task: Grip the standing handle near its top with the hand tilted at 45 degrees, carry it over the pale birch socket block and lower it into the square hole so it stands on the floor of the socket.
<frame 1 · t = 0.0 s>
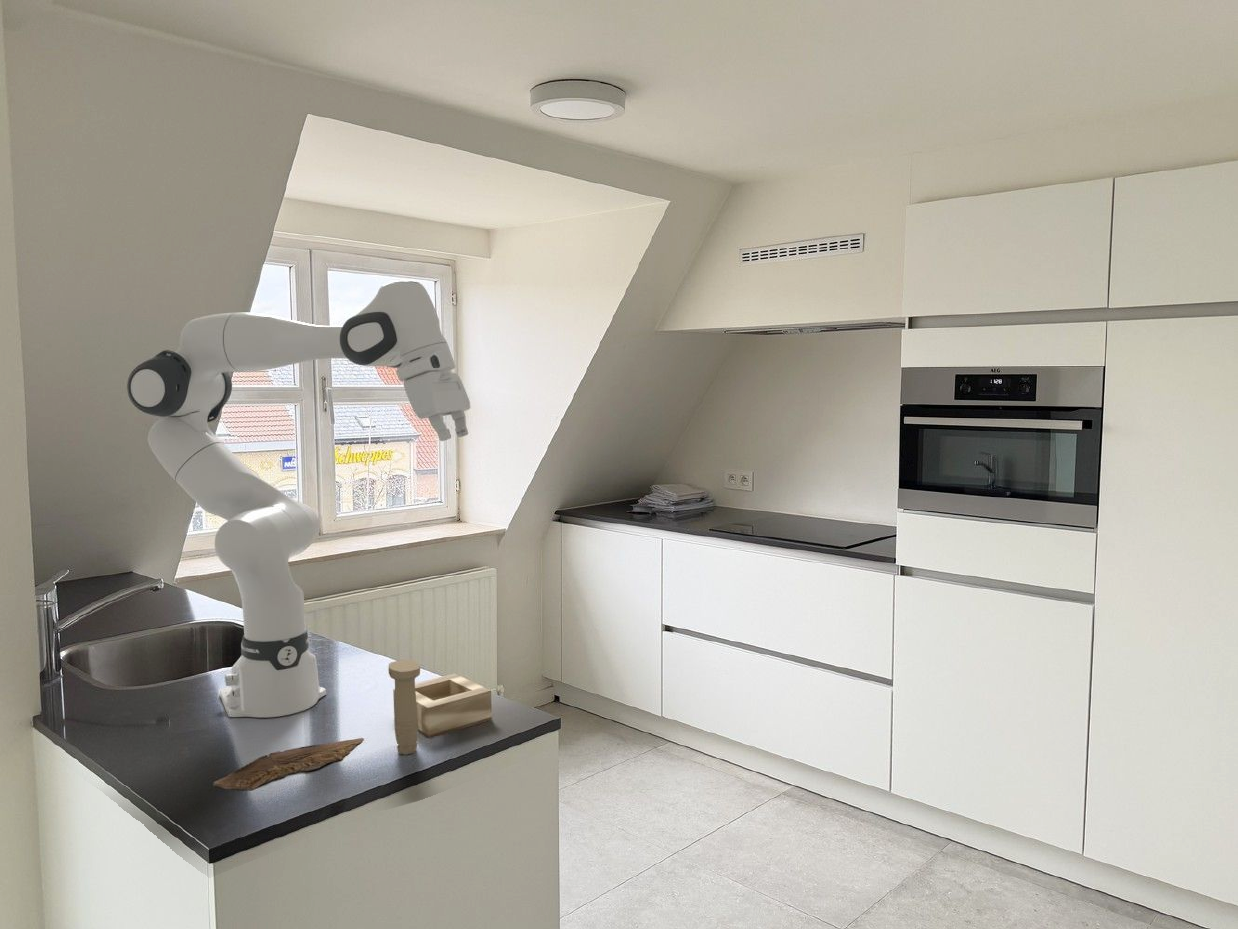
hand: (455, 438, 168), 52 cm above the worktop, tool tilted 20°, fingers open, 8 cm apart
socket block: (442, 719, 171), on the worktop
handle: (407, 753, 157), on the worktop
wooden fragment: (295, 765, 153), on the worktop
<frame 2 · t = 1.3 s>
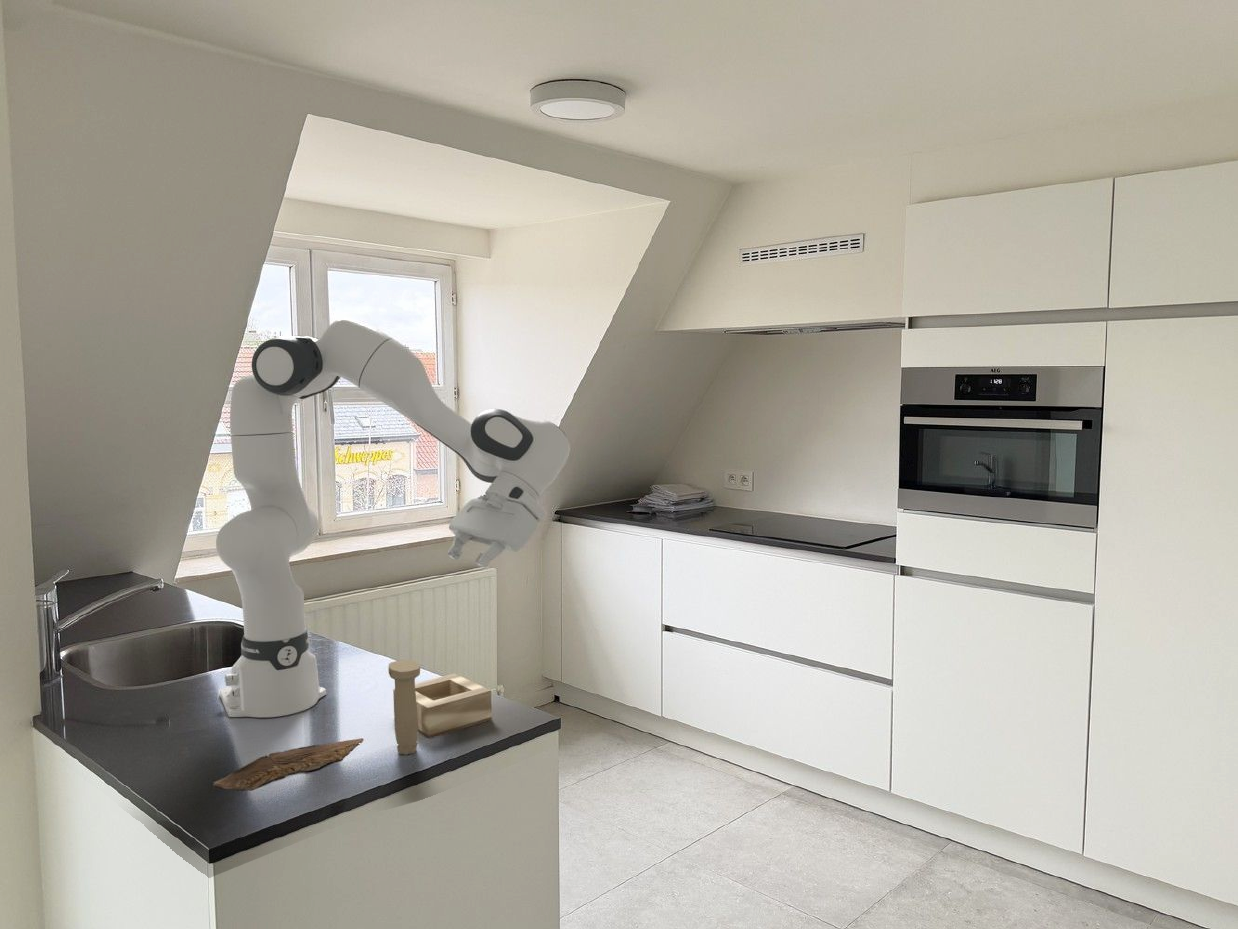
hand: (465, 561, 161), 31 cm above the worktop, tool tilted 45°, fingers open, 8 cm apart
nothing on the worktop moved.
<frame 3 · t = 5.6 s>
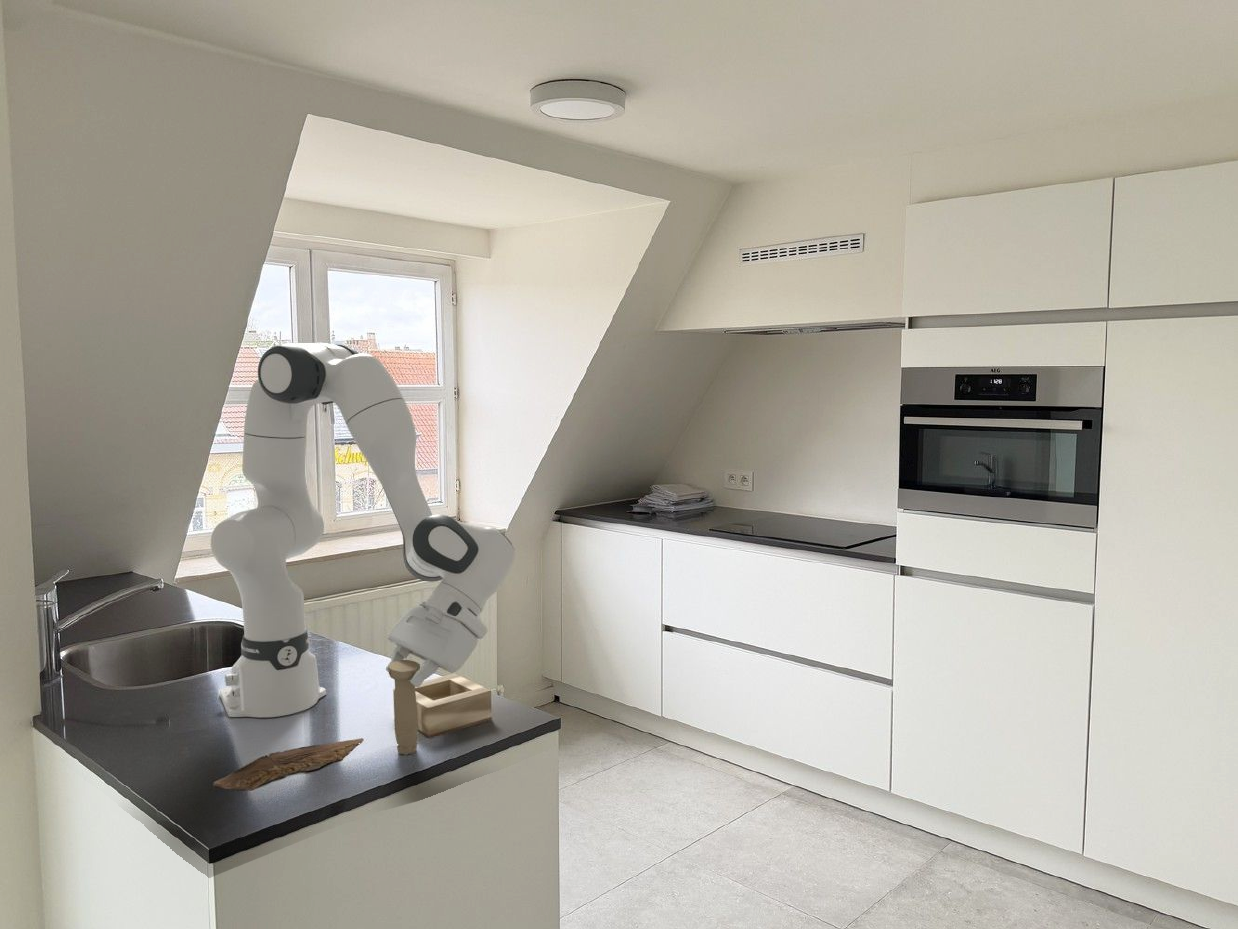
hand: (401, 678, 155), 13 cm above the worktop, tool tilted 45°, fingers closed on handle, 6 cm apart
handle: (407, 753, 157), on the worktop, touching gripper
everything else where it was.
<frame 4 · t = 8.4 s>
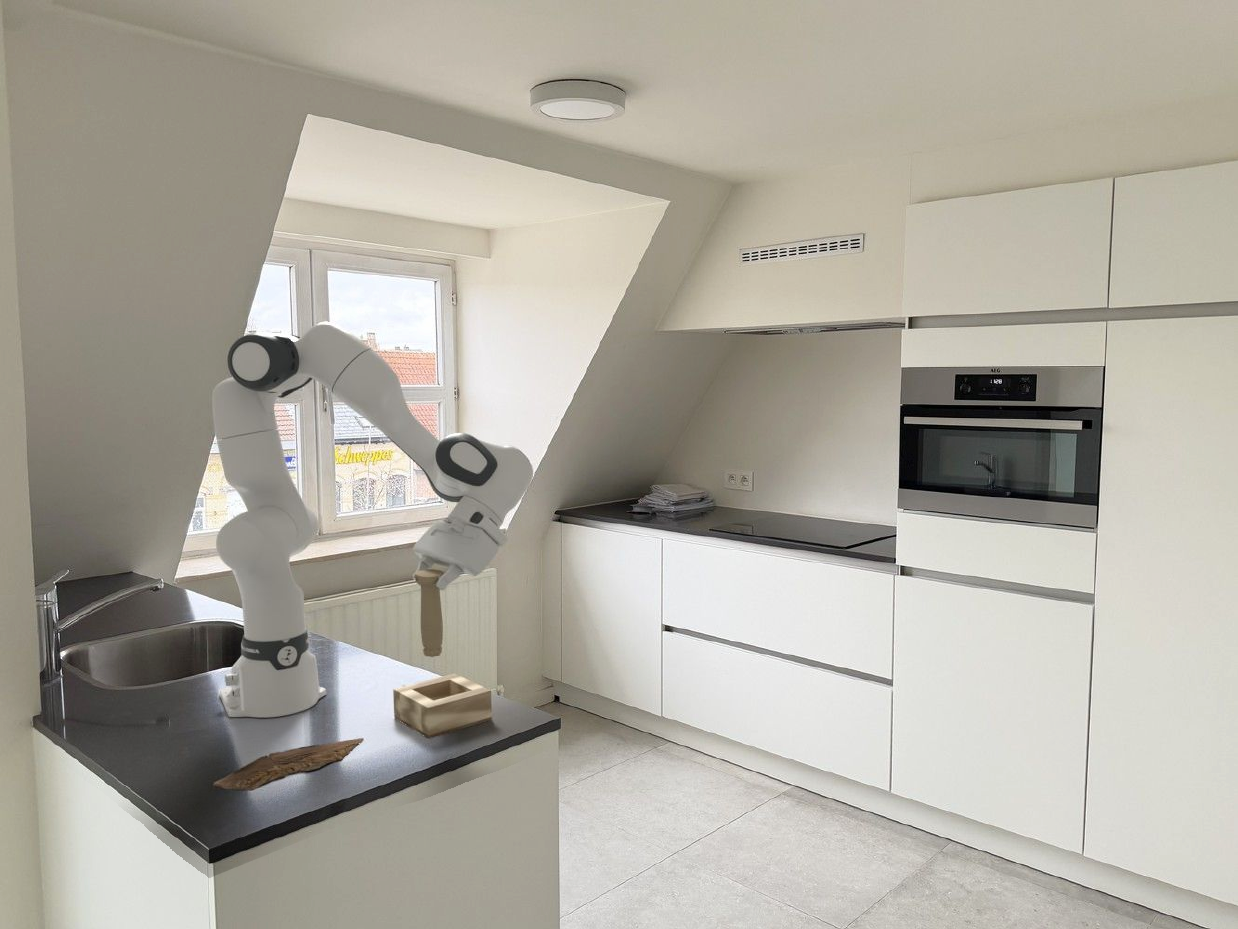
hand: (426, 584, 165), 26 cm above the worktop, tool tilted 45°, fingers closed on handle, 6 cm apart
handle: (432, 656, 166), point 13 cm above the worktop, touching gripper
everything else where it was.
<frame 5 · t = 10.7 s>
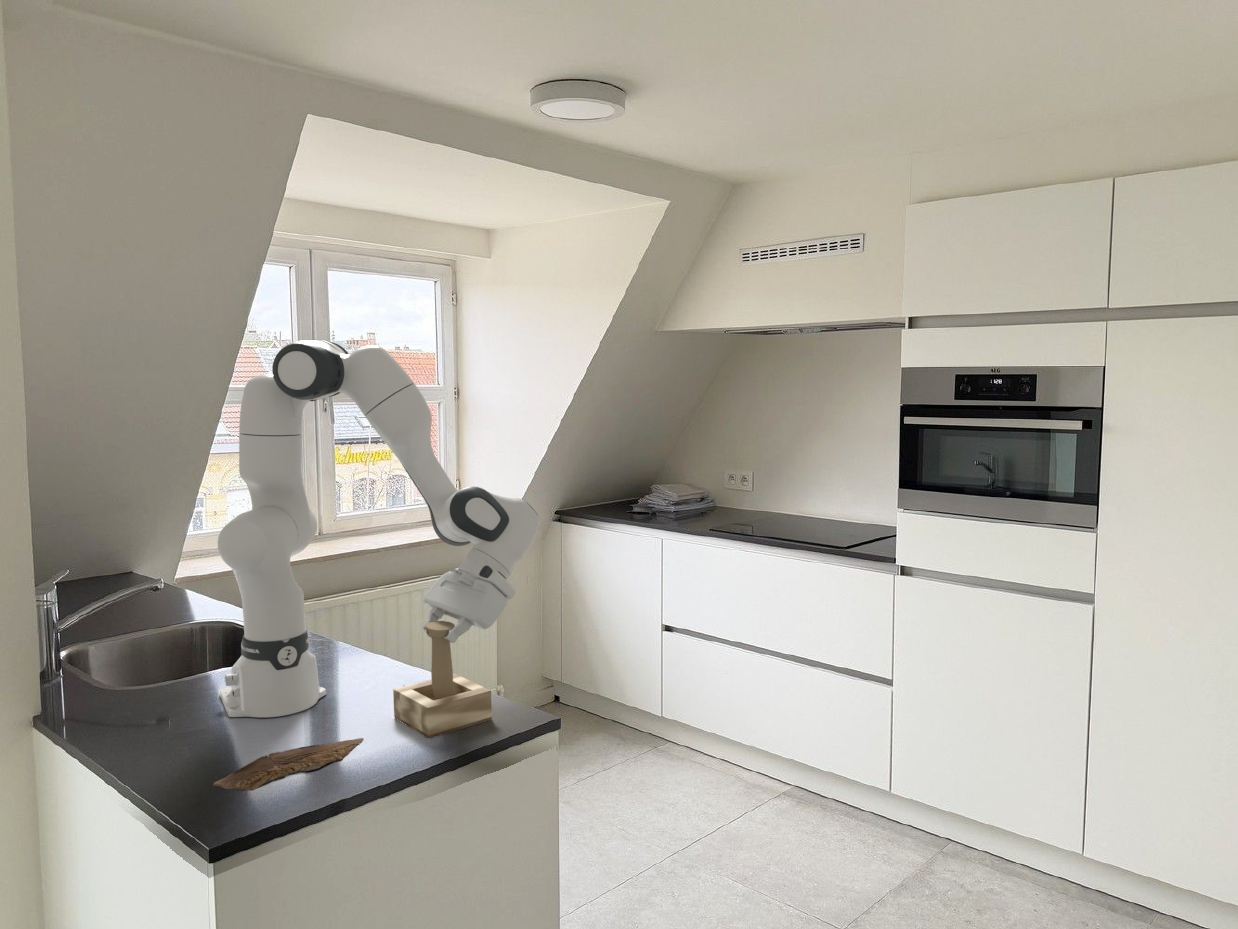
hand: (437, 636, 169), 16 cm above the worktop, tool tilted 45°, fingers closed on handle, 6 cm apart
handle: (443, 705, 171), point 3 cm above the worktop, touching gripper
everything else where it was.
when the fingers open (15 cm above the worktop, at t = 11.5 s): handle drops 1 cm, resting on socket block.
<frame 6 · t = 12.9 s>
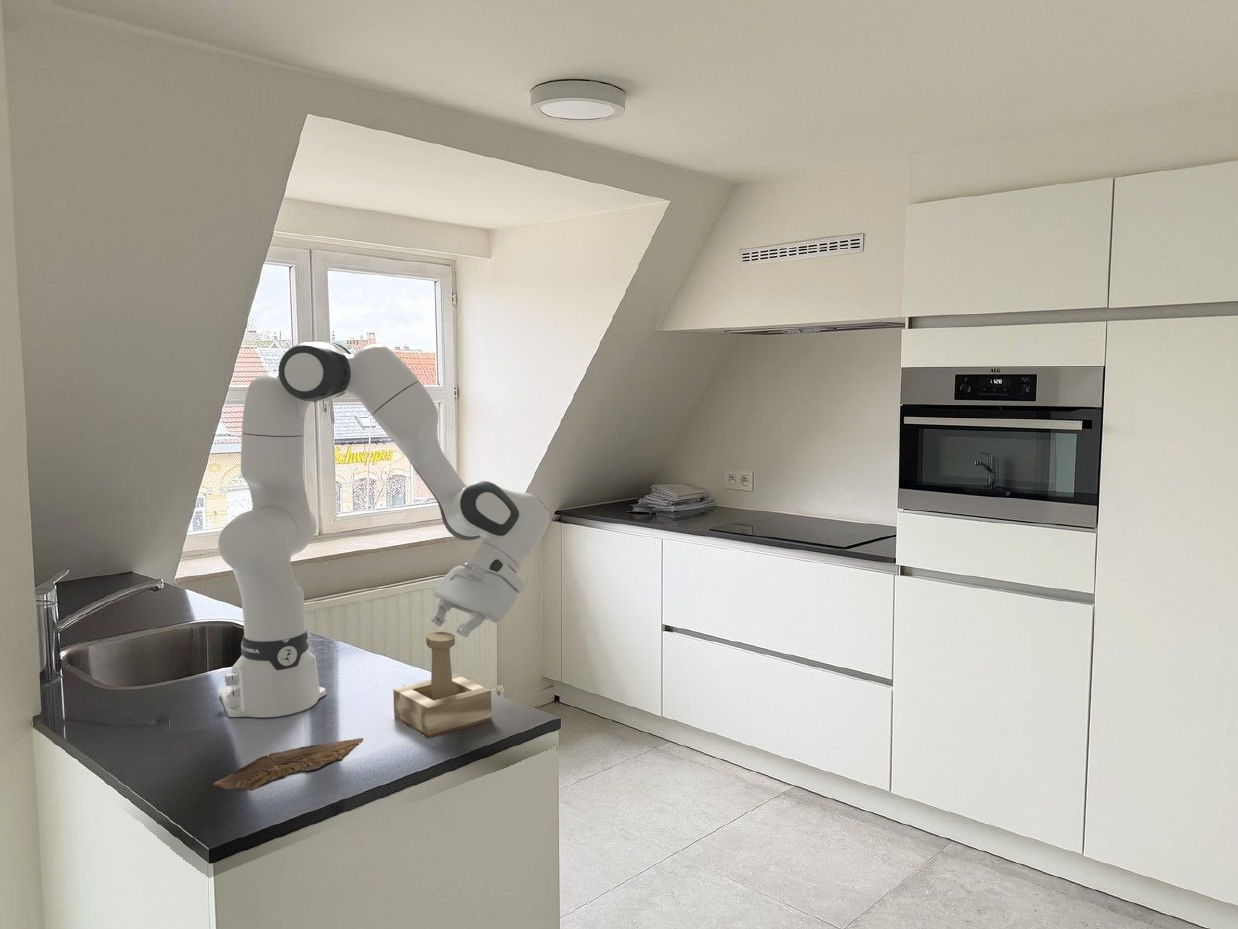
hand: (447, 629, 170), 17 cm above the worktop, tool tilted 45°, fingers open, 8 cm apart
handle: (442, 716, 171), resting on socket block
everything else where it was.
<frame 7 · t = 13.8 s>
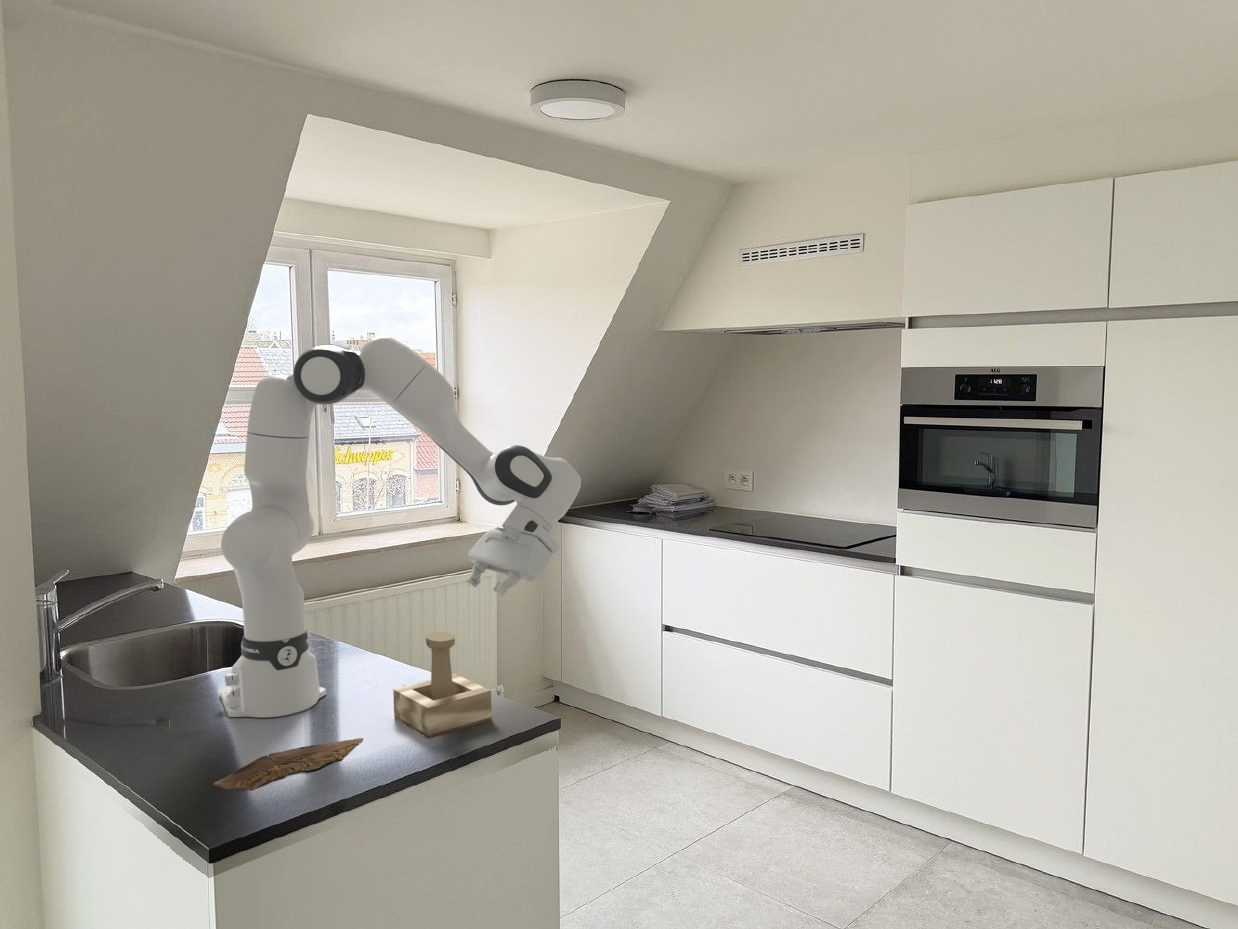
hand: (483, 589, 175), 23 cm above the worktop, tool tilted 45°, fingers open, 8 cm apart
nothing on the worktop moved.
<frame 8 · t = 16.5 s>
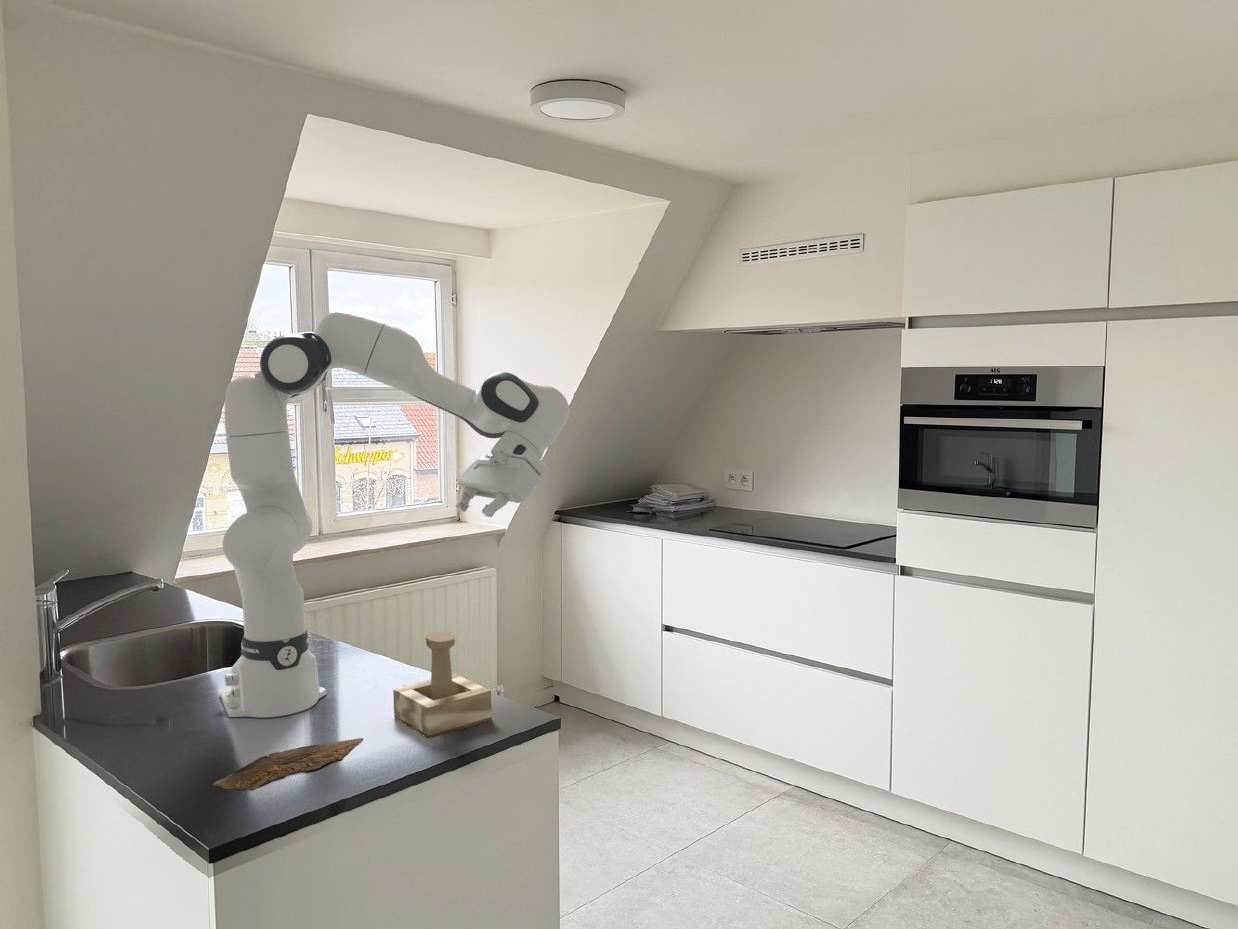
hand: (472, 512, 176), 37 cm above the worktop, tool tilted 45°, fingers open, 8 cm apart
nothing on the worktop moved.
at the end: handle 0.1 cm off-centre on the socket block, point 0.4 cm above the socket block's base; handle tilted 0°; the gripper is holding nothing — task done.
